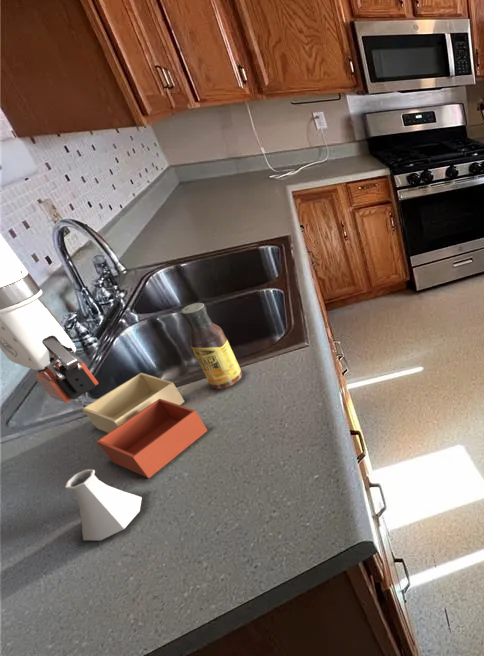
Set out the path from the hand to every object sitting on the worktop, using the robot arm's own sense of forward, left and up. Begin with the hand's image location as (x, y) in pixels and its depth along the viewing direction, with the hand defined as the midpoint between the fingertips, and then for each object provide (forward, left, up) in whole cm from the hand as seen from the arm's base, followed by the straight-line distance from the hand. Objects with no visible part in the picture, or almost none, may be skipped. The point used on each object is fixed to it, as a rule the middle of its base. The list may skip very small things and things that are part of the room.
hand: (74, 388), depth 68 cm
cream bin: (-10, +8, -18) cm, 22 cm away
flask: (+11, -8, -18) cm, 22 cm away
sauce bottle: (-1, +21, -18) cm, 28 cm away
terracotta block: (0, 0, 0) cm, 0 cm away
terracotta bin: (+3, +4, -18) cm, 18 cm away
